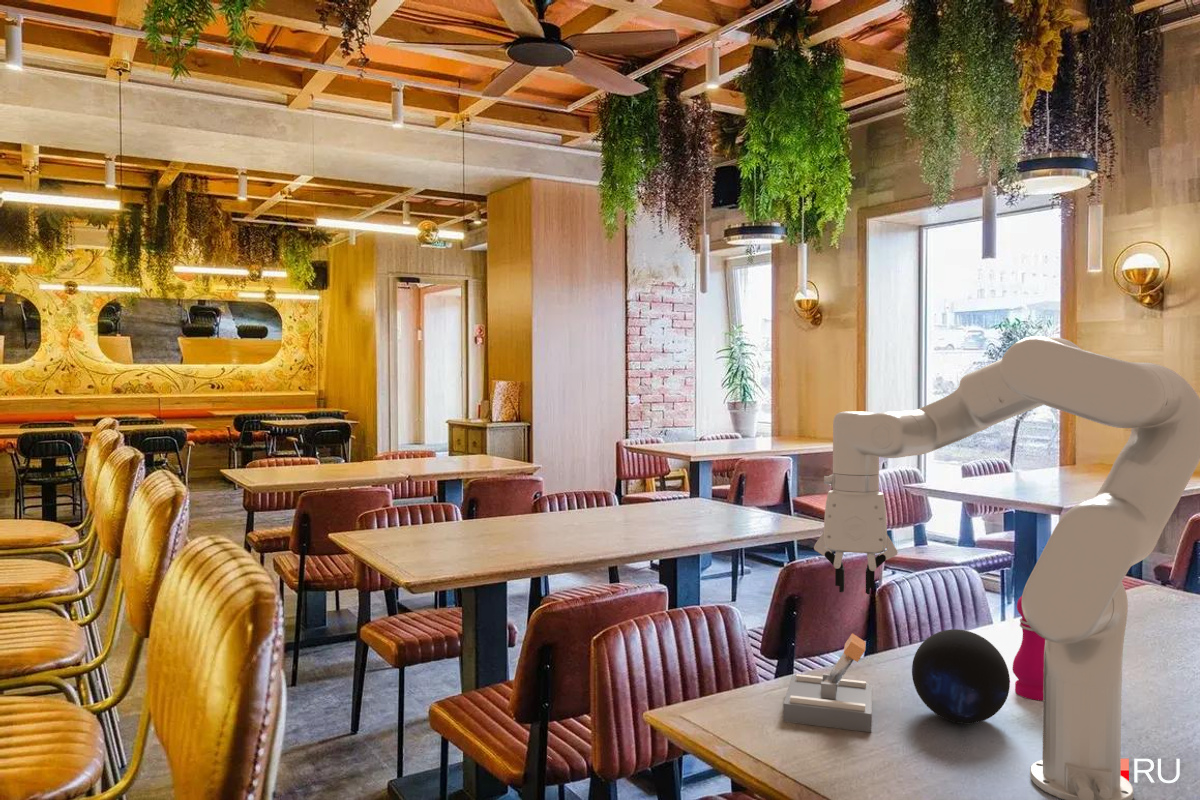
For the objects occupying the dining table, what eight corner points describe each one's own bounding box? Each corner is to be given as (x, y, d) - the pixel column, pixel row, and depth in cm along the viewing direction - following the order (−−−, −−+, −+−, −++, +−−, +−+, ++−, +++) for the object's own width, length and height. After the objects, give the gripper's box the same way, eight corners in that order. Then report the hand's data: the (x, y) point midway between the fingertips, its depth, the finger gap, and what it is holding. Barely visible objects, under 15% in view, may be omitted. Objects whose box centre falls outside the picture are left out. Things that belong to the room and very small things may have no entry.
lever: (832, 700, 143) (865, 650, 141) (818, 690, 144) (851, 641, 142) (833, 689, 148) (865, 641, 146) (820, 681, 148) (852, 633, 147)
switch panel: (871, 732, 137) (871, 698, 137) (783, 721, 141) (783, 688, 141) (872, 701, 150) (872, 670, 150) (791, 692, 154) (791, 661, 154)
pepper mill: (1062, 703, 149) (1064, 590, 149) (1018, 700, 151) (1019, 588, 150) (1049, 688, 156) (1050, 581, 156) (1007, 686, 158) (1008, 579, 158)
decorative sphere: (1015, 715, 144) (1016, 627, 144) (1002, 746, 131) (1003, 651, 131) (922, 697, 152) (923, 614, 152) (901, 725, 140) (902, 634, 139)
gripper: (803, 484, 143) (802, 592, 143) (908, 488, 137) (907, 600, 138) (807, 479, 150) (806, 582, 150) (906, 483, 145) (905, 590, 145)
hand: (854, 590), depth 144 cm, fingers open, 3 cm apart
